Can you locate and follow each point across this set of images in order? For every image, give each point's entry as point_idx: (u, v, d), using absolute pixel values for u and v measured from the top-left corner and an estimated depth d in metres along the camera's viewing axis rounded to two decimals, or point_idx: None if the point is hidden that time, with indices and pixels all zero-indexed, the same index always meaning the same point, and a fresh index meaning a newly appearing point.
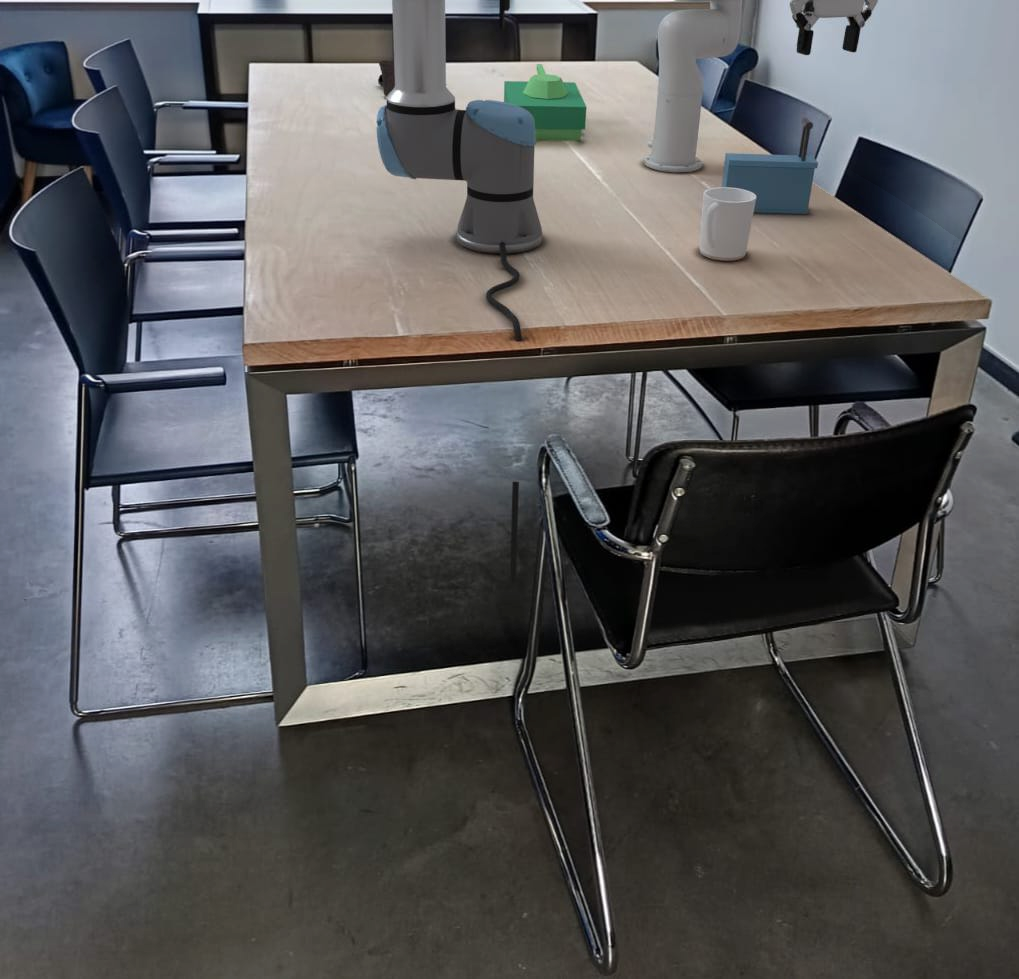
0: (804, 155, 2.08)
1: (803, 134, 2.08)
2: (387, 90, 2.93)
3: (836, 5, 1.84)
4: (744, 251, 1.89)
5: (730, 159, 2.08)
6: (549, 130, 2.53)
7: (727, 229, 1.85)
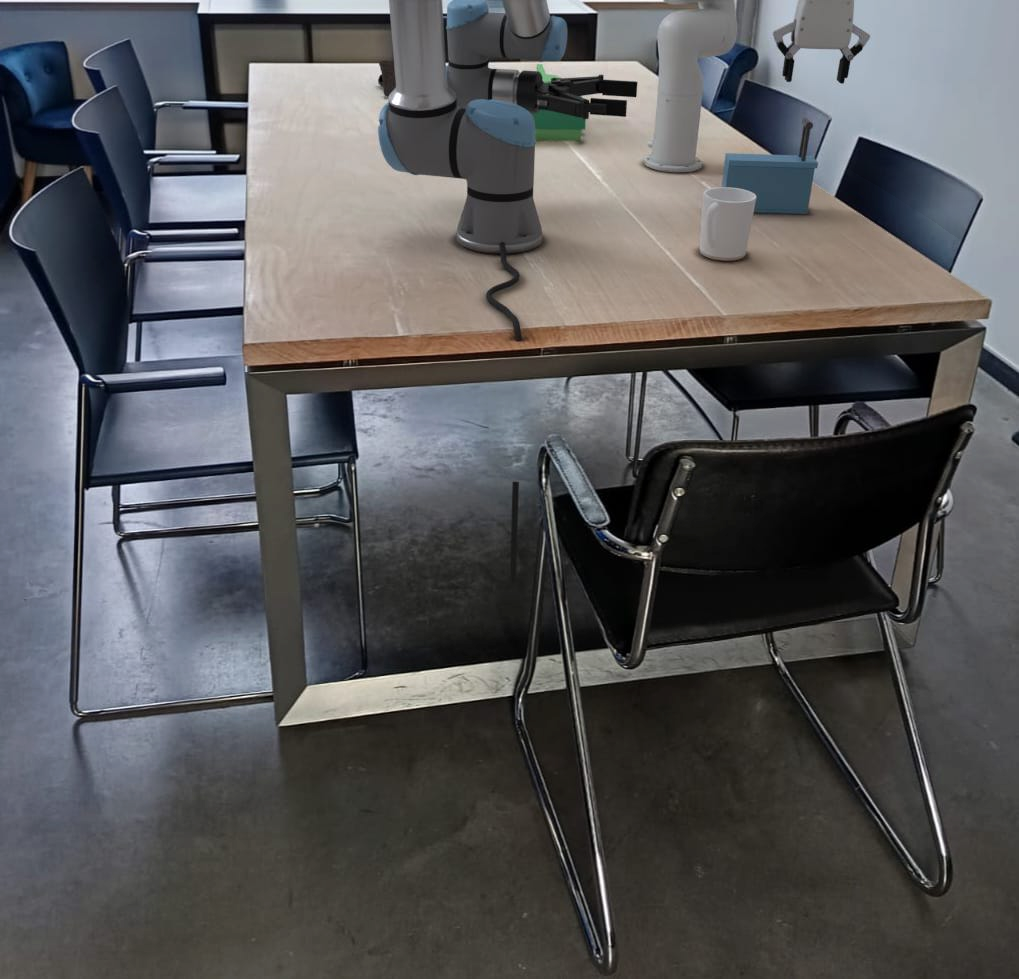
0: (804, 155, 2.08)
1: (803, 134, 2.08)
2: (387, 90, 2.93)
3: (817, 37, 1.96)
4: (744, 251, 1.89)
5: (730, 159, 2.08)
6: (549, 130, 2.53)
7: (727, 229, 1.85)
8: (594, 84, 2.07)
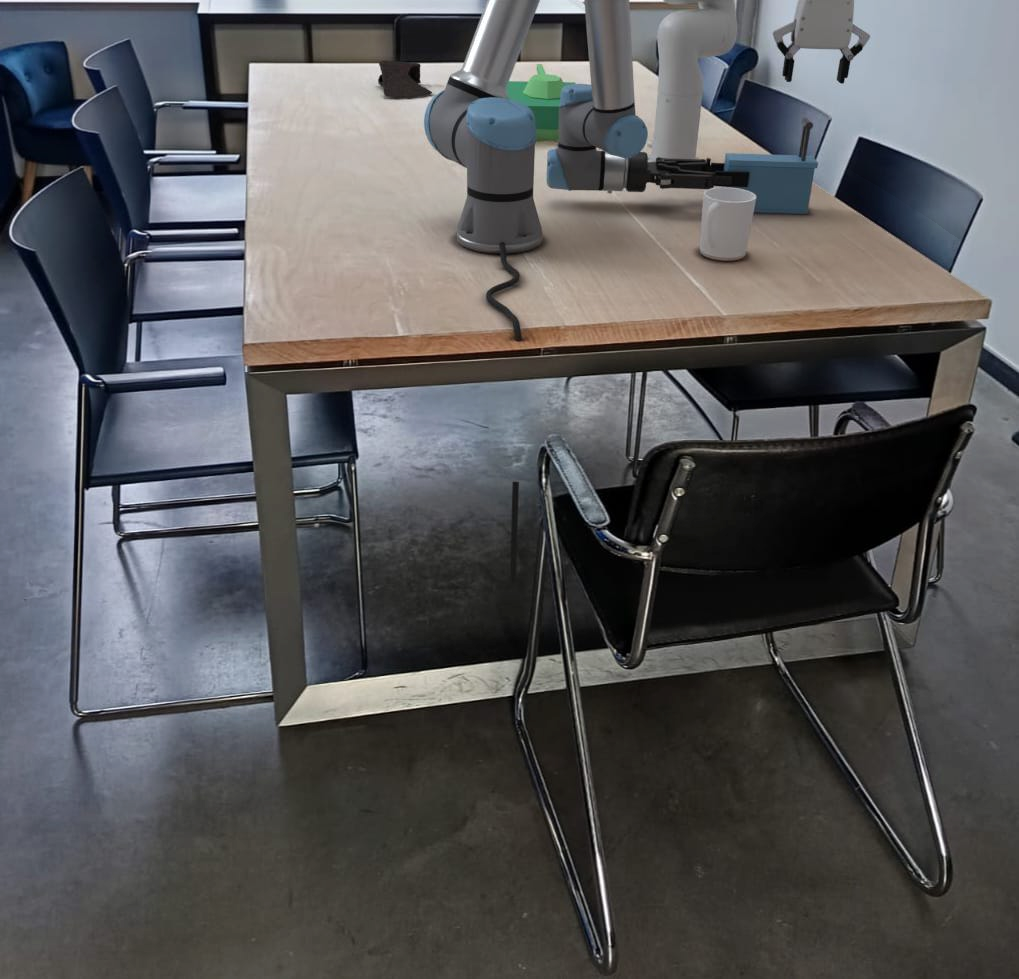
0: (804, 155, 2.08)
1: (803, 134, 2.08)
2: (387, 90, 2.93)
3: (817, 37, 1.96)
4: (744, 251, 1.89)
5: (730, 159, 2.08)
6: (549, 130, 2.53)
7: (727, 229, 1.85)
8: (700, 167, 2.14)
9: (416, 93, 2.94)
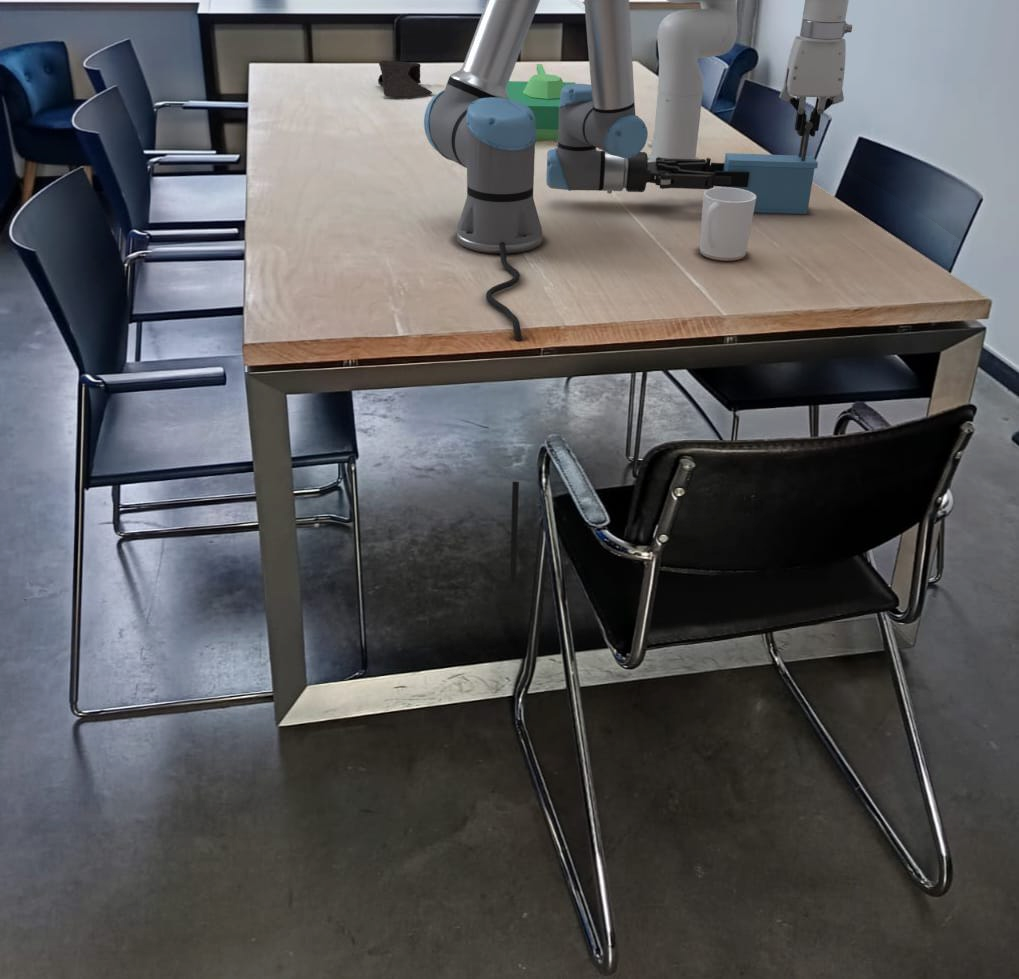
0: (804, 155, 2.08)
1: None
2: (387, 90, 2.93)
3: (809, 86, 2.01)
4: (744, 251, 1.89)
5: (730, 159, 2.08)
6: (549, 130, 2.53)
7: (727, 229, 1.85)
8: (700, 167, 2.14)
9: (416, 93, 2.94)
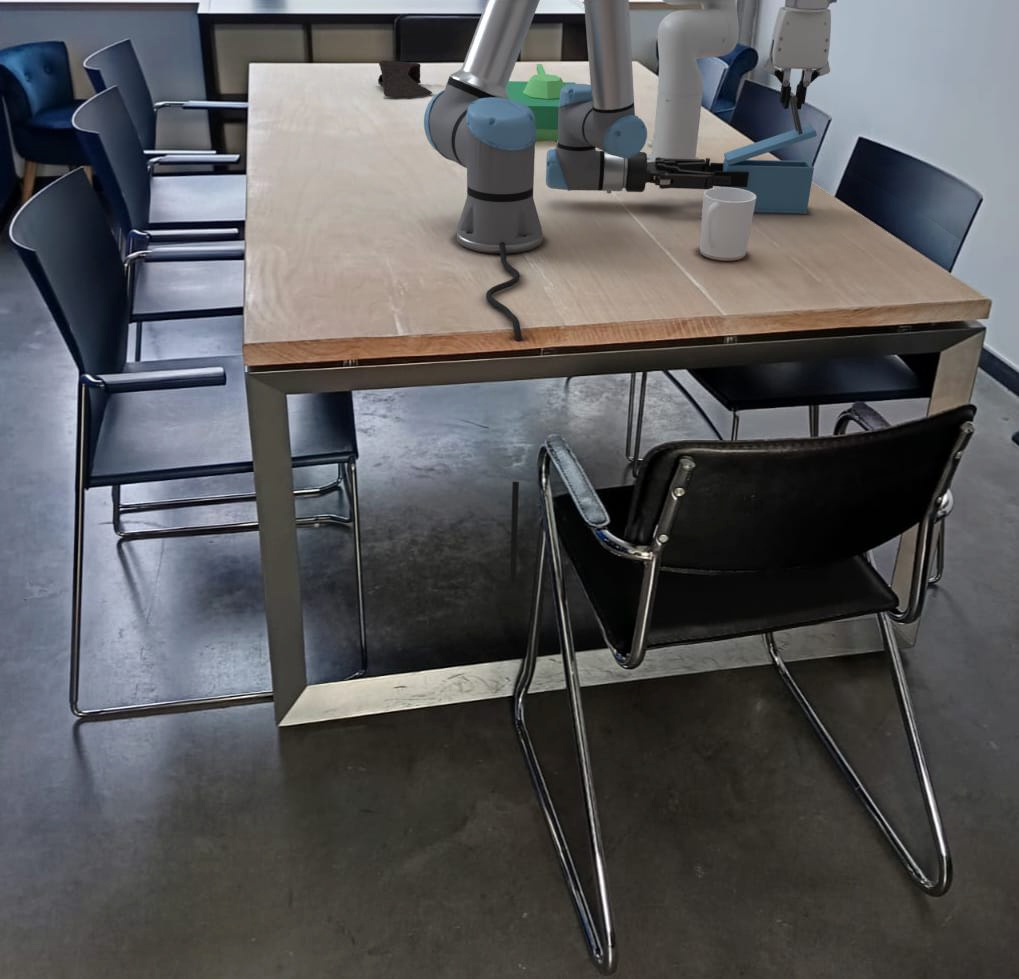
0: (799, 128, 2.05)
1: (792, 108, 2.06)
2: (387, 90, 2.93)
3: (794, 58, 1.98)
4: (744, 251, 1.89)
5: (728, 159, 2.08)
6: (549, 130, 2.53)
7: (727, 229, 1.85)
8: (699, 167, 2.14)
9: (416, 93, 2.94)
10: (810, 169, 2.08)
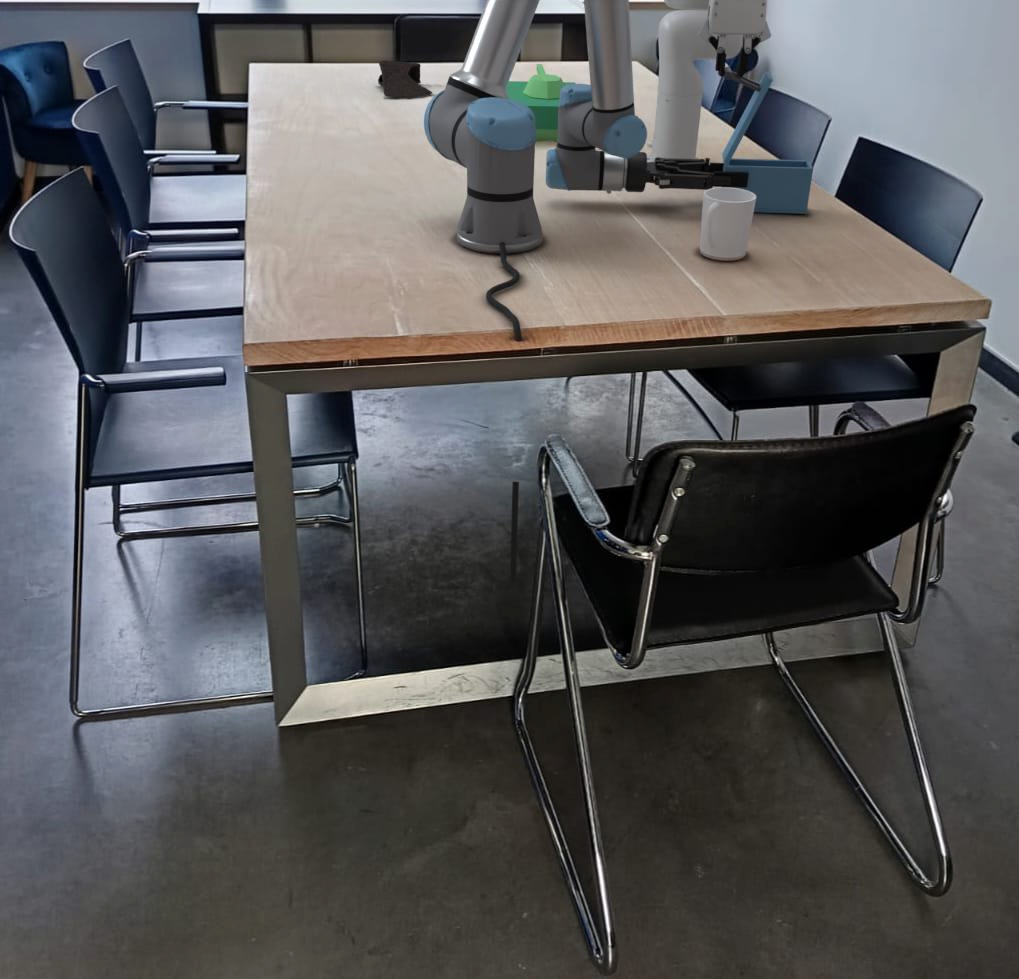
0: (754, 87, 2.01)
1: None
2: (387, 90, 2.93)
3: (731, 23, 1.95)
4: (744, 251, 1.89)
5: (724, 159, 2.08)
6: (549, 130, 2.53)
7: (727, 229, 1.85)
8: (699, 166, 2.14)
9: (416, 93, 2.94)
10: (809, 169, 2.07)
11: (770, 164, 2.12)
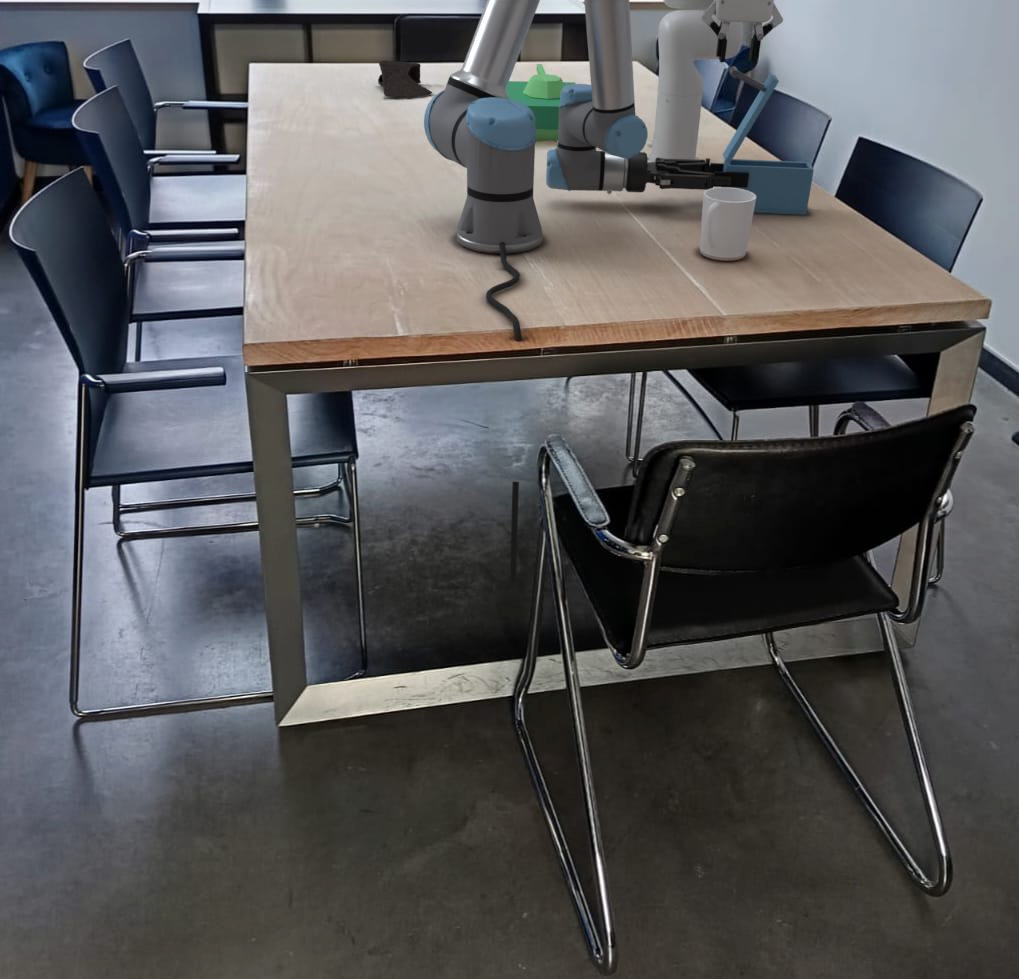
0: (760, 88, 2.01)
1: None
2: (387, 90, 2.93)
3: (738, 10, 1.95)
4: (744, 251, 1.89)
5: (725, 159, 2.08)
6: (549, 130, 2.53)
7: (727, 229, 1.85)
8: (699, 167, 2.14)
9: (416, 93, 2.94)
10: (810, 170, 2.08)
11: (770, 165, 2.12)
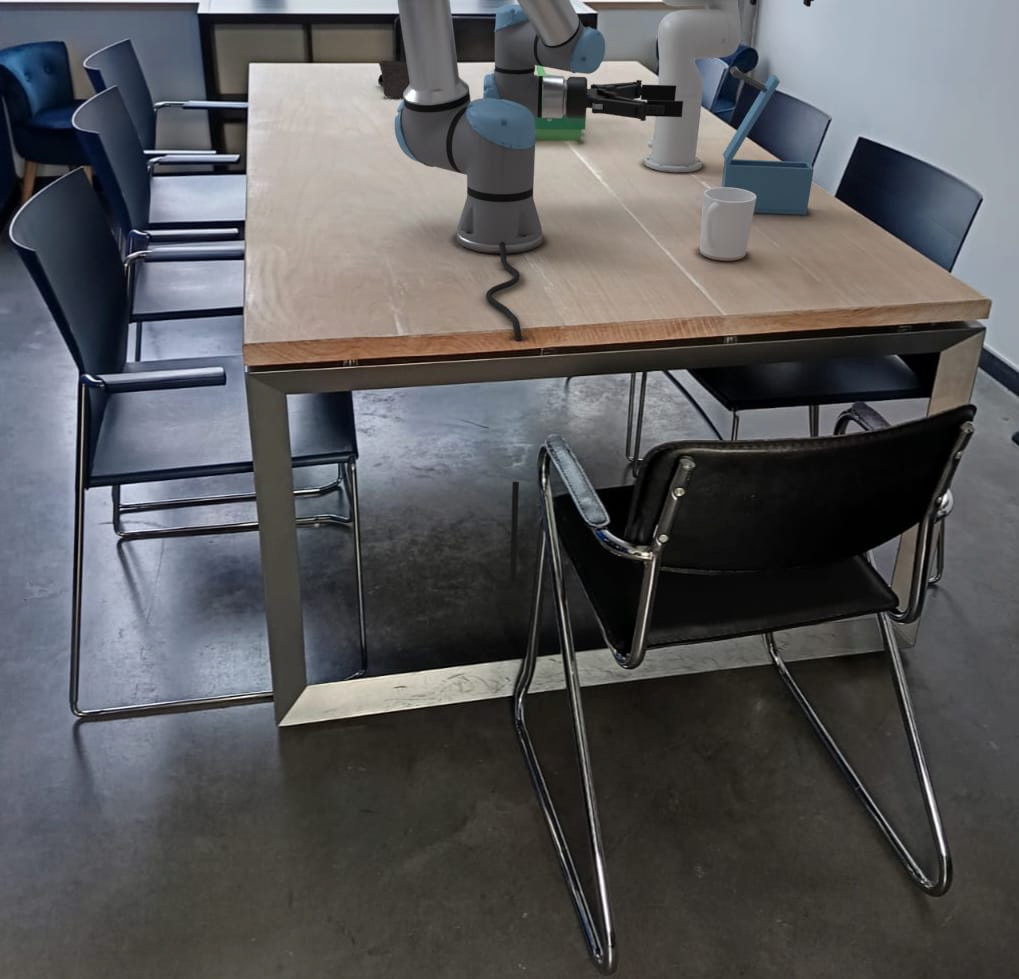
0: (761, 88, 2.02)
1: None
2: (387, 90, 2.93)
3: None
4: (744, 251, 1.89)
5: (725, 159, 2.08)
6: (549, 130, 2.53)
7: (727, 229, 1.85)
8: (634, 89, 2.10)
9: None
10: (810, 170, 2.08)
11: (770, 165, 2.12)
